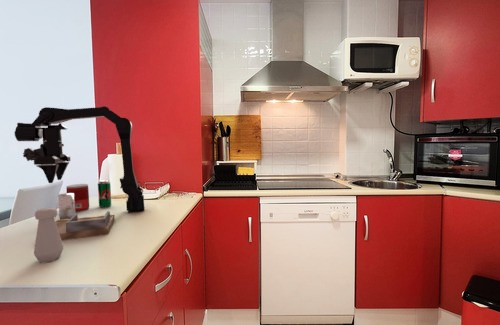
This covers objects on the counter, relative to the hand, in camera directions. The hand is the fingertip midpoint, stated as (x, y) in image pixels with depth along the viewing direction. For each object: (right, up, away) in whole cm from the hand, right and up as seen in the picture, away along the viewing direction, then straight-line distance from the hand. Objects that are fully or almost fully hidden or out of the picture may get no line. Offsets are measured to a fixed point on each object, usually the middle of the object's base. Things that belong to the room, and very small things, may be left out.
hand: (55, 181), depth 97 cm
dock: (+19, -16, -13) cm, 28 cm away
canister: (+6, -15, -1) cm, 16 cm away
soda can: (+8, -13, +19) cm, 25 cm away
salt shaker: (+25, -17, -34) cm, 46 cm away
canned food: (0, -14, +14) cm, 20 cm away
